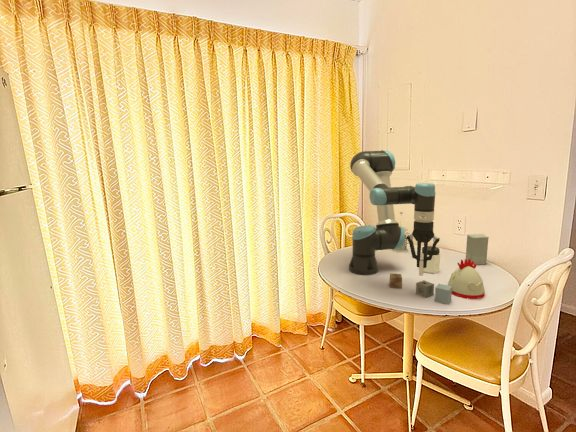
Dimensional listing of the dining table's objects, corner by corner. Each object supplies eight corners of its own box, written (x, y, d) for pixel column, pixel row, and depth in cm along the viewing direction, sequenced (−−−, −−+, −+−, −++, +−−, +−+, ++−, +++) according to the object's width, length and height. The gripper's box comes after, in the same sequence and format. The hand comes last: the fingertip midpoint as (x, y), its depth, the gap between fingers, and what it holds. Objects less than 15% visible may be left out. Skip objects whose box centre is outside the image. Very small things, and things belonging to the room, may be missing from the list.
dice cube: (423, 290, 133) (423, 280, 132) (433, 295, 129) (434, 284, 128) (415, 293, 131) (416, 282, 130) (426, 297, 127) (426, 286, 126)
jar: (432, 274, 151) (433, 251, 149) (417, 270, 157) (418, 248, 155) (442, 270, 156) (443, 248, 153) (427, 266, 162) (428, 245, 160)
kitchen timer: (440, 286, 137) (442, 254, 134) (469, 284, 138) (472, 253, 135) (460, 300, 124) (462, 265, 121) (492, 298, 124) (495, 263, 122)
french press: (397, 247, 199) (398, 209, 194) (413, 250, 190) (415, 211, 186) (388, 250, 193) (389, 211, 188) (405, 254, 184) (407, 214, 179)
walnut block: (390, 287, 138) (390, 277, 137) (389, 283, 143) (389, 273, 142) (401, 288, 136) (402, 278, 136) (400, 284, 141) (401, 274, 140)
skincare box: (480, 260, 168) (482, 233, 165) (487, 265, 161) (489, 236, 158) (464, 260, 169) (466, 233, 166) (470, 265, 162) (472, 236, 159)
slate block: (434, 301, 123) (435, 287, 122) (438, 296, 127) (438, 283, 126) (448, 304, 120) (449, 290, 119) (451, 300, 124) (452, 286, 123)
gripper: (405, 221, 125) (403, 275, 129) (440, 223, 118) (437, 280, 123) (408, 218, 131) (406, 269, 135) (441, 220, 125) (438, 274, 129)
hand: (421, 274), depth 129 cm, fingers closed
